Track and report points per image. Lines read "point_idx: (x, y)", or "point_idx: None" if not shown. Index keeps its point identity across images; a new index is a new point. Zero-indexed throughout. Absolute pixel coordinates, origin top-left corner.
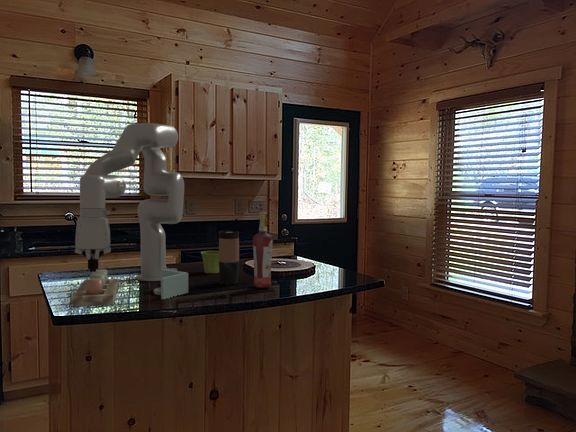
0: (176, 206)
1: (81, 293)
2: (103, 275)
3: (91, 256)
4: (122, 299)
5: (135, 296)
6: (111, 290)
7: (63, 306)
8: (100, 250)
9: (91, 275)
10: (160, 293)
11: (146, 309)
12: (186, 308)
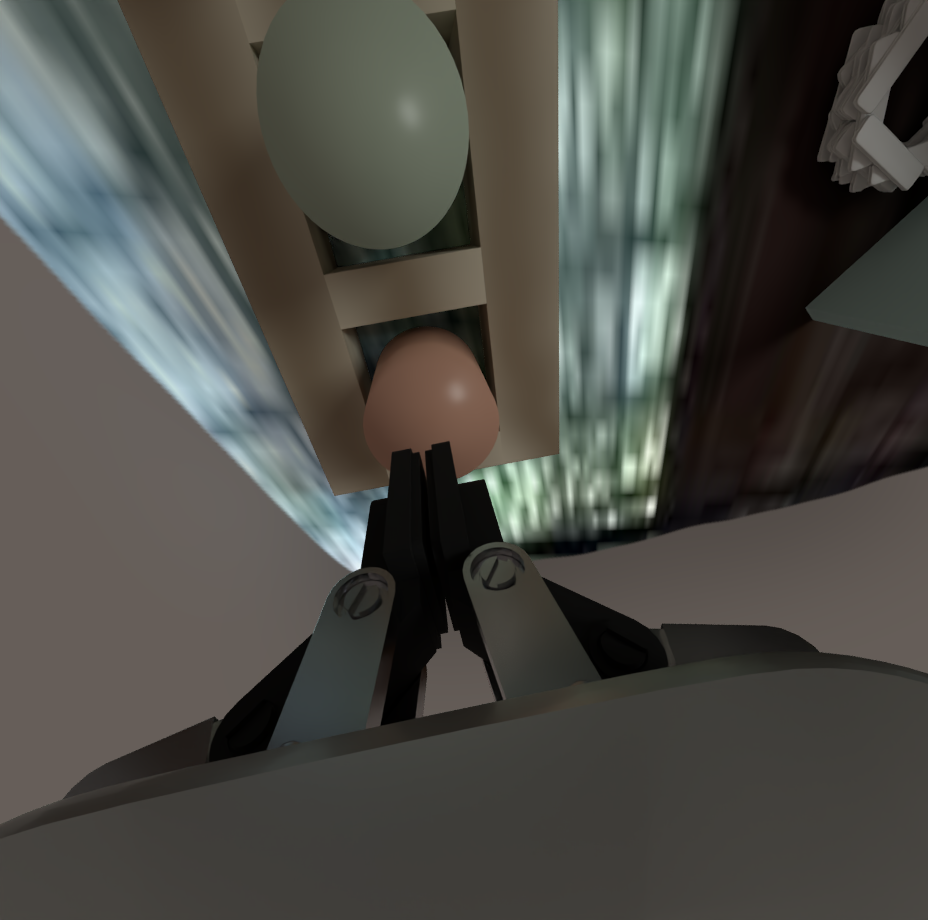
0: None
1: (345, 407)
2: (461, 178)
3: (413, 633)
4: (584, 305)
5: (672, 211)
6: (534, 317)
7: (291, 454)
8: (595, 670)
9: (302, 174)
10: (858, 190)
11: (684, 496)
12: (834, 482)
